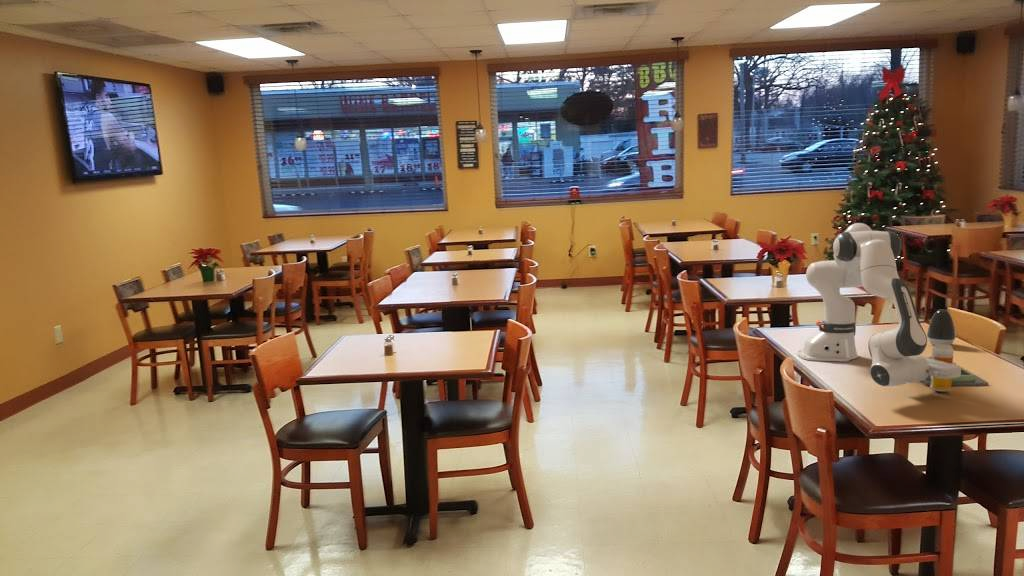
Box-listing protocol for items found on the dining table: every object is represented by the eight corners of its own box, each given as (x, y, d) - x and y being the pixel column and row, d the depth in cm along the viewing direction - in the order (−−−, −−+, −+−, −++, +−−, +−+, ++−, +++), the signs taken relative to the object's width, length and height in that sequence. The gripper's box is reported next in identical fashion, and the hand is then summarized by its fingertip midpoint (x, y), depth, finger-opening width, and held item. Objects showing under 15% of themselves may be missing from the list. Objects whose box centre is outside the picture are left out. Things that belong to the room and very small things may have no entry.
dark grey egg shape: (951, 342, 309) (953, 307, 306) (957, 348, 299) (959, 312, 296) (924, 341, 312) (926, 306, 309) (929, 347, 302) (931, 311, 300)
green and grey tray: (926, 385, 254) (926, 377, 254) (907, 372, 270) (907, 364, 270) (988, 385, 252) (988, 376, 251) (965, 372, 267) (966, 364, 267)
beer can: (953, 392, 244) (956, 348, 241) (933, 391, 245) (936, 348, 243) (947, 386, 250) (949, 343, 247) (927, 386, 251) (929, 343, 248)
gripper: (944, 366, 231) (974, 360, 236) (888, 351, 250) (917, 346, 255) (942, 385, 232) (972, 379, 237) (887, 369, 251) (916, 363, 256)
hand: (943, 362), depth 246 cm, fingers closed on beer can, 6 cm apart
